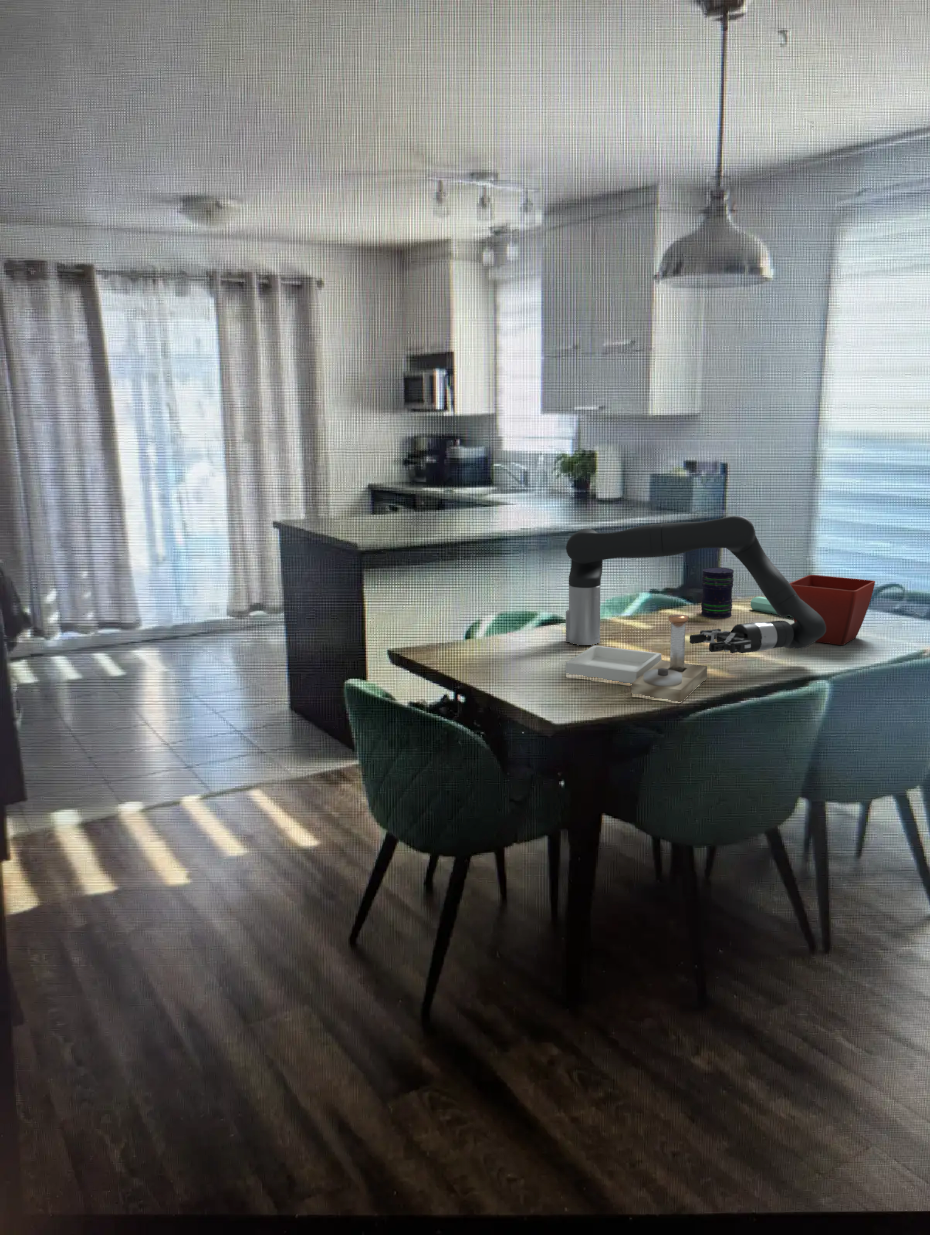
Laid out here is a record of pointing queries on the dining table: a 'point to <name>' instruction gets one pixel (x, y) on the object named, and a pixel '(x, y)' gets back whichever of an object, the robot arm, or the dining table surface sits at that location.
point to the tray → (612, 663)
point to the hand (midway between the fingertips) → (700, 643)
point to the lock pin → (677, 641)
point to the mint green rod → (762, 605)
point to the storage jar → (717, 592)
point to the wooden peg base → (669, 681)
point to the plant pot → (836, 604)
